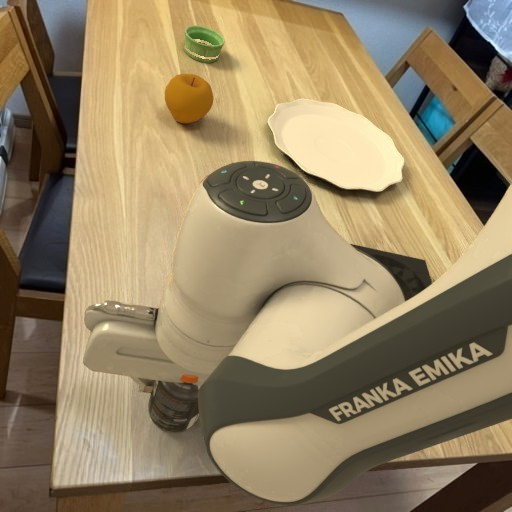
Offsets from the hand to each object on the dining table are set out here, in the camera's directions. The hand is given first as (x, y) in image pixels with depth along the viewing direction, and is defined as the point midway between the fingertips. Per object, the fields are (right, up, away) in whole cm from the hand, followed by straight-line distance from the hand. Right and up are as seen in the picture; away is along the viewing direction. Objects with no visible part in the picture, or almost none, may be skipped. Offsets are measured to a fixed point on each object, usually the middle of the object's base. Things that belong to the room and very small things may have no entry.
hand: (180, 391), depth 53 cm
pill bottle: (-1, -3, +3) cm, 4 cm away
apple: (-6, +40, +41) cm, 57 cm away
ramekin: (-4, +61, +60) cm, 85 cm away
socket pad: (+28, +8, +24) cm, 37 cm away
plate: (+24, +36, +49) cm, 65 cm away
